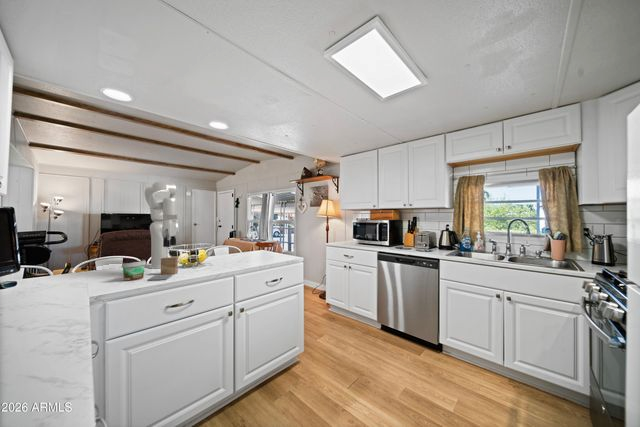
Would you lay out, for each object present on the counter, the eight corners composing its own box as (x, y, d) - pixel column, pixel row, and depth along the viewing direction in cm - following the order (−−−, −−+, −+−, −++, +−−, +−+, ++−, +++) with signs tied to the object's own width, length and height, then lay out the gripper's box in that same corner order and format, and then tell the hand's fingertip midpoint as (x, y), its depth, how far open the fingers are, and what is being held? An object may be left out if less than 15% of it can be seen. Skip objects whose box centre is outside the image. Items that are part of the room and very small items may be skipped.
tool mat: (154, 276, 136) (154, 275, 136) (172, 276, 138) (172, 274, 138) (147, 281, 128) (147, 279, 128) (165, 280, 129) (165, 278, 130)
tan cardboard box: (163, 273, 144) (163, 257, 144) (177, 273, 145) (177, 257, 146) (160, 275, 140) (160, 258, 140) (175, 274, 142) (175, 258, 142)
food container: (130, 282, 125) (130, 263, 125) (121, 281, 126) (121, 263, 126) (151, 276, 137) (151, 259, 137) (142, 276, 138) (143, 259, 138)
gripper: (168, 218, 151) (168, 244, 150) (156, 218, 134) (156, 247, 133) (181, 218, 152) (181, 244, 152) (171, 217, 135) (170, 247, 135)
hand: (169, 246), depth 143 cm, fingers open, 9 cm apart
